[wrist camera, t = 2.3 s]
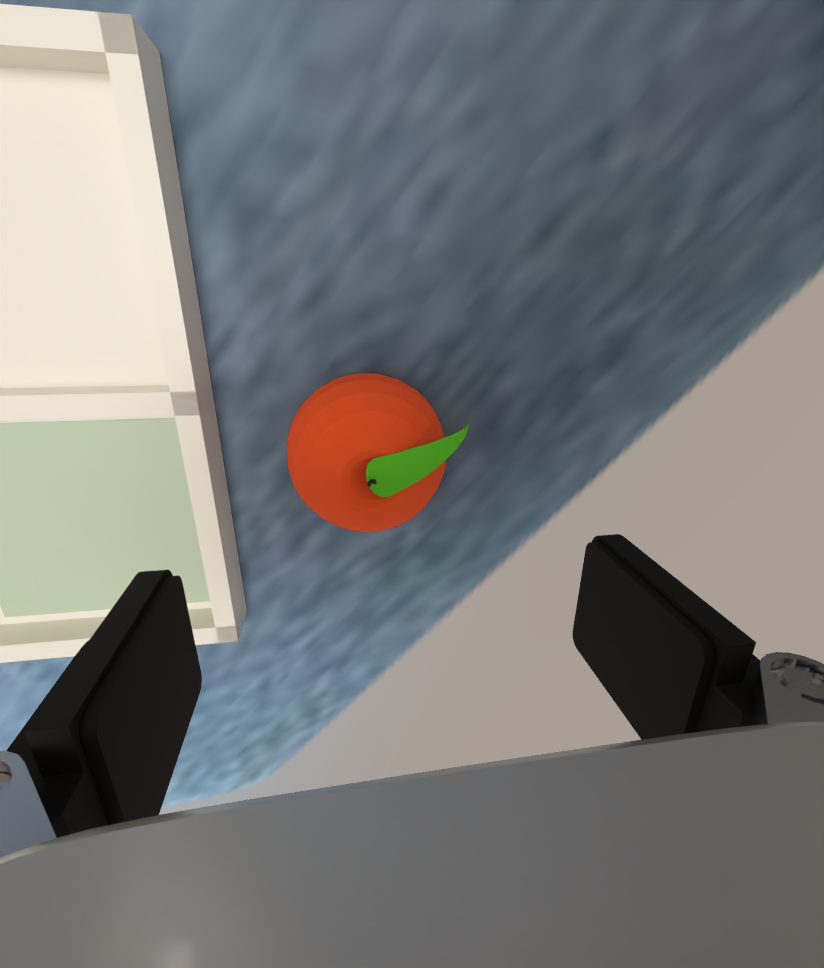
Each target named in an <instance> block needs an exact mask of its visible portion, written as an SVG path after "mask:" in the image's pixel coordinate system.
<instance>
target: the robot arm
mask: <svg viewBox="0 0 824 968" xmlns="http://www.w3.org/2000/svg"><path fill="white" fill-rule="evenodd" d="M573 640H574V643H575V646H576V648H577V649H578V651H579V652H580V653H581V655H582V656H583V658H584V659H585V661H586V662H587V663H588V665H589V666H590V668H591V669H592V671H593V672H594V673H595V675H596V676H597V677H598V679H599V680H600V682H601V683H602V685H603V686H604V687H605V689H606V690H607V692H608V693H609V694H610V696H611V697H612V698H613V700H614V701H615V703H616V704H617V706H618V707H619V708H620V710H621V711H622V713H623V714H624V715H625V717H626V718H627V720H628V721H629V723H630V724H631V725H632V727H633V728H634V730H635V731H636V732H637V734H638V735H639V736H640V738H641V739H642V740H637V741H631V742H624V743H616V744H610V745H602V746H596V747H589V748H582V749H575V750H568V751H561V752H554V753H547V754H541V755H535V756H528V757H521V758H515V759H508V760H501V761H494V762H488V763H481V764H474V765H468V766H461V767H455V768H448V769H442V770H435V771H429V772H422V773H415V774H409V775H402V776H396V777H390V778H383V779H377V780H370V781H364V782H357V783H351V784H345V785H339V786H332V787H326V788H320V789H313V790H307V791H301V792H295V793H288V794H281V795H275V796H269V797H262V798H256V799H250V800H244V801H238V802H232V803H226V804H221V805H215V806H208V807H203V808H197V809H192V810H185V811H179V812H174V813H169V814H163V815H159V812H160V809H161V806H162V804H163V801H164V798H165V795H166V792H167V789H168V786H169V783H170V780H171V777H172V774H173V771H174V768H175V765H176V762H177V759H178V756H179V753H180V750H181V747H182V744H183V741H184V738H185V735H186V732H187V729H188V726H189V723H190V720H191V717H192V714H193V711H194V708H195V705H196V702H197V699H198V696H199V693H200V690H201V682H202V676H201V670H200V665H199V660H198V655H197V650H196V646H195V641H194V636H193V631H192V626H191V621H190V616H189V612H188V607H187V602H186V597H185V592H184V587H183V583H182V579H181V577H180V576H179V575H178V576H173V575H172V573H171V571H170V570H155V571H143V572H138V573H137V574H136V576H135V577H134V578H133V580H132V581H131V583H130V584H129V585H128V587H127V588H126V590H125V591H124V592H123V594H122V595H121V597H120V598H119V599H118V601H117V602H116V604H115V605H114V606H113V608H112V609H111V610H110V612H109V613H108V615H107V616H106V617H105V619H104V620H103V622H102V623H101V624H100V626H99V627H98V629H97V630H96V631H95V633H94V634H93V636H92V637H91V638H90V640H89V641H87V642H86V643H85V644H84V645H83V646H82V647H81V649H80V650H79V651H78V653H77V654H76V656H75V657H74V658H73V660H72V661H71V662H70V664H69V665H68V667H67V668H66V669H65V671H64V672H63V674H62V675H61V676H60V678H59V679H58V680H57V682H56V683H55V685H54V686H53V687H52V689H51V690H50V691H49V693H48V694H47V696H46V697H45V698H44V700H43V701H42V703H41V704H40V705H39V707H38V708H37V709H36V711H35V712H34V714H33V715H32V716H31V718H30V719H29V720H28V722H27V723H26V725H25V726H24V727H23V729H22V730H21V732H20V733H19V734H18V736H17V737H16V738H15V740H14V741H13V743H12V744H11V745H10V747H9V748H8V749H7V751H0V968H824V664H822V663H820V662H818V661H816V660H813V659H810V658H807V657H804V656H801V655H796V654H792V653H782V652H780V653H779V652H776V653H770V654H767V655H766V656H764V657H763V658H762V659H761V661H760V660H759V659H757V657H755V656H754V655H753V654H752V653H753V650H754V647H755V644H756V642H755V641H754V640H752V639H751V638H750V637H748V636H747V635H746V634H745V633H744V632H742V631H741V630H740V629H739V628H737V627H736V626H735V625H733V624H732V623H731V622H730V621H729V620H727V619H726V618H725V617H724V616H722V615H721V614H720V613H719V612H717V611H716V610H715V609H714V608H712V607H711V606H710V605H708V604H707V603H706V602H705V601H703V600H702V599H701V598H700V597H699V596H697V595H696V594H695V593H694V592H692V591H691V590H690V589H688V588H687V587H686V586H685V585H683V584H682V583H681V582H680V581H679V580H677V579H676V578H675V577H673V576H672V575H671V574H670V573H669V572H667V571H666V570H665V569H664V568H662V567H661V566H660V565H658V564H657V563H656V562H655V561H653V560H652V559H651V558H650V557H648V556H647V555H646V554H645V553H643V552H642V551H641V550H640V549H638V548H637V547H636V546H635V545H633V544H632V543H631V542H630V541H628V540H627V539H626V538H625V537H623V536H622V535H619V534H616V535H604V536H596V537H594V539H593V540H592V542H590V543H588V544H587V546H586V551H585V557H584V563H583V570H582V577H581V582H580V589H579V596H578V602H577V609H576V614H575V621H574V627H573Z"/></svg>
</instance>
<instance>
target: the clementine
mask: <svg viewBox="0 0 824 968" xmlns="http://www.w3.org/2000/svg"><path fill="white" fill-rule="evenodd" d="M469 423H470V422H468V424H467V425H466V426H465V427H464V428H463V429H462V430H460V431H458V432H456V433H454V434H452V435H450V436H447V437H445V438H444V434H443V430H442V426H441V423H440V421H439V419H438V417H437V415H436V413H435V411H434V409H433V407H432V406H431V405H430V404H429V403H428V401H427V400H426V399H425V398H424V397H423V396H422V395H421V394H420V393H419V392H418V391H417V390H415V389H414V388H412V387H411V386H409V385H407V384H406V383H404V382H403V381H401V380H398V379H395V378H392V377H388V376H385V375H382V374H378V373H355V374H351V375H346V376H342V377H338V378H336V379H334V380H332V381H331V382H329V383H327V384H325V385H323V386H322V387H320V388H318V389H317V390H316V391H315V392H314V393H313V394H312V395H311V396H310V397H309V398H308V399H307V400H306V401H305V402H304V403H303V404H302V405H301V406H300V408H299V410H298V412H297V414H296V415H295V417H294V419H293V421H292V422H291V426H290V431H289V435H288V439H287V459H288V470H289V473H290V476H291V479H292V482H293V484H294V487H295V489H296V491H297V492H298V494H299V495H300V497H301V498H302V499H303V501H304V502H305V504H306V505H307V506H308V507H309V508H311V509H312V510H313V511H314V512H315V513H317V514H318V515H319V516H320V517H321V518H323V519H324V520H326V521H328V522H330V523H332V524H334V525H336V526H339V527H341V528H344V529H348V530H353V531H358V532H378V531H382V530H386V529H390V528H394V527H397V526H398V525H400V524H402V523H404V522H406V521H408V520H410V519H412V518H413V517H414V516H415V515H416V514H417V513H418V512H420V511H421V510H422V509H423V508H424V507H425V506H426V505H427V503H428V502H429V500H430V499H431V498H432V496H433V495H434V493H435V492H436V490H437V489H438V487H439V485H440V482H441V479H442V476H443V473H444V471H445V463H446V459H447V458H448V457H449V456H450V455H451V454H452V453H453V452H454V451H455V450H456V449H457V448H458V447H459V446H460V444H461V443H462V441H463V440H464V438H465V437H466V435H467V431H468V427H469Z"/></svg>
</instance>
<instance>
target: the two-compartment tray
mask: <svg viewBox="0 0 824 968" xmlns="http://www.w3.org/2000/svg"><path fill="white" fill-rule="evenodd" d="M155 570H170V571H171V573H172V575H173V576H178V575H179V576H180V577H181V579H182V583H183V587H184V592H185V597H186V602H187V607H188V612H189V616H190V621H191V626H192V631H193V636H194V641H195V645H202V644H213V643H224V642H235V641H238V640H239V637H240V633H241V630H242V626H243V623H244V619H245V616H246V613H247V609H246V602H245V596H244V589H243V583H242V577H241V570H240V564H239V557H238V551H237V545H236V538H235V532H234V526H233V519H232V513H231V506H230V500H229V494H228V487H227V481H226V474H225V468H224V462H223V455H222V449H221V443H220V436H219V430H218V423H217V417H216V411H215V404H214V398H213V391H212V385H211V379H210V372H209V366H208V359H207V353H206V347H205V340H204V334H203V328H202V321H201V315H200V308H199V302H198V296H197V289H196V283H195V276H194V270H193V264H192V257H191V251H190V245H189V238H188V232H187V225H186V219H185V213H184V206H183V200H182V193H181V187H180V181H179V174H178V168H177V162H176V155H175V149H174V142H173V136H172V130H171V123H170V117H169V110H168V104H167V98H166V91H165V85H164V78H163V72H162V66H161V59H160V53H159V51H158V49H157V48H156V47H155V45H154V44H153V43H152V41H151V40H150V39H149V37H148V36H147V35H146V33H145V32H144V31H143V29H142V28H141V27H140V25H139V24H138V23H137V21H136V20H135V19H134V17H133V16H132V15H131V14H119V13H106V12H94V11H81V10H69V9H57V8H44V7H32V6H19V5H7V4H0V663H4V662H15V661H26V660H37V659H48V658H59V657H70V656H76V654H77V653H78V651H79V650H80V649H81V647H82V646H83V645H84V644H85V643H86V642H87V641H89V640H90V638H91V637H92V636H93V634H94V633H95V631H96V630H97V629H98V627H99V626H100V624H101V623H102V622H103V620H104V619H105V617H106V616H107V615H108V613H109V612H110V610H111V609H112V608H113V606H114V605H115V604H116V602H117V601H118V599H119V598H120V597H121V595H122V594H123V592H124V591H125V590H126V588H127V587H128V585H129V584H130V583H131V581H132V580H133V578H134V577H135V576H136V574H137V573H138V572H143V571H155Z"/></svg>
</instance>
